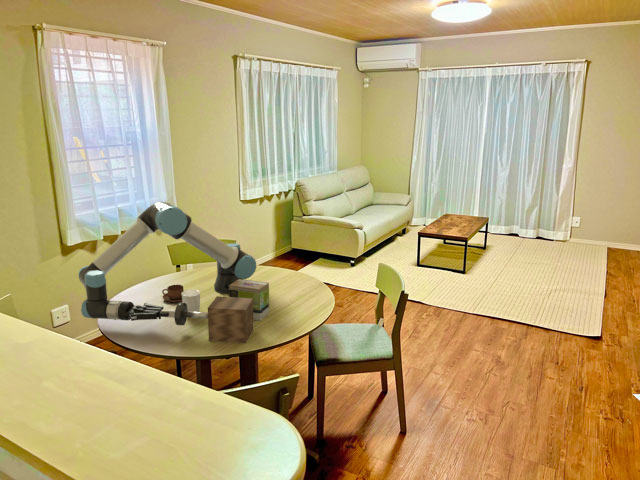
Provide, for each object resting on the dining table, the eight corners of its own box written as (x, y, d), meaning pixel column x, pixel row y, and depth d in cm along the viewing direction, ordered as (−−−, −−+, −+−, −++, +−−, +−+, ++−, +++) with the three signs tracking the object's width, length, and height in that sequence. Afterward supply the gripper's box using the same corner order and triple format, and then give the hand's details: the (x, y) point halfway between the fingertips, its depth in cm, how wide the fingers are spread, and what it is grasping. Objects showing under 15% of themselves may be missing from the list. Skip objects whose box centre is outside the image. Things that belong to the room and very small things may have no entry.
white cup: (196, 318, 207) (195, 297, 205) (179, 316, 209) (178, 295, 206) (204, 311, 215) (203, 290, 212) (187, 309, 216) (186, 288, 214)
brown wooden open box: (208, 340, 187) (207, 307, 184) (217, 327, 199) (216, 296, 195) (246, 343, 186) (245, 310, 182) (253, 330, 198) (252, 298, 194)
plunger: (175, 328, 189) (173, 307, 187) (183, 319, 198) (182, 299, 195) (214, 331, 188) (214, 310, 185) (221, 321, 196) (220, 301, 194)
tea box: (269, 313, 215) (269, 282, 211) (259, 321, 206) (259, 289, 202) (240, 308, 220) (239, 277, 216) (229, 316, 210) (228, 284, 207)
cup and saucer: (164, 305, 220) (163, 293, 219) (161, 296, 231) (160, 284, 229) (191, 302, 225) (190, 289, 224) (186, 293, 236) (186, 281, 234)
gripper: (129, 312, 201) (184, 315, 199) (113, 325, 189) (171, 329, 187) (128, 296, 199) (183, 299, 197) (112, 308, 187) (170, 311, 185)
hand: (177, 313), depth 192 cm, fingers closed
